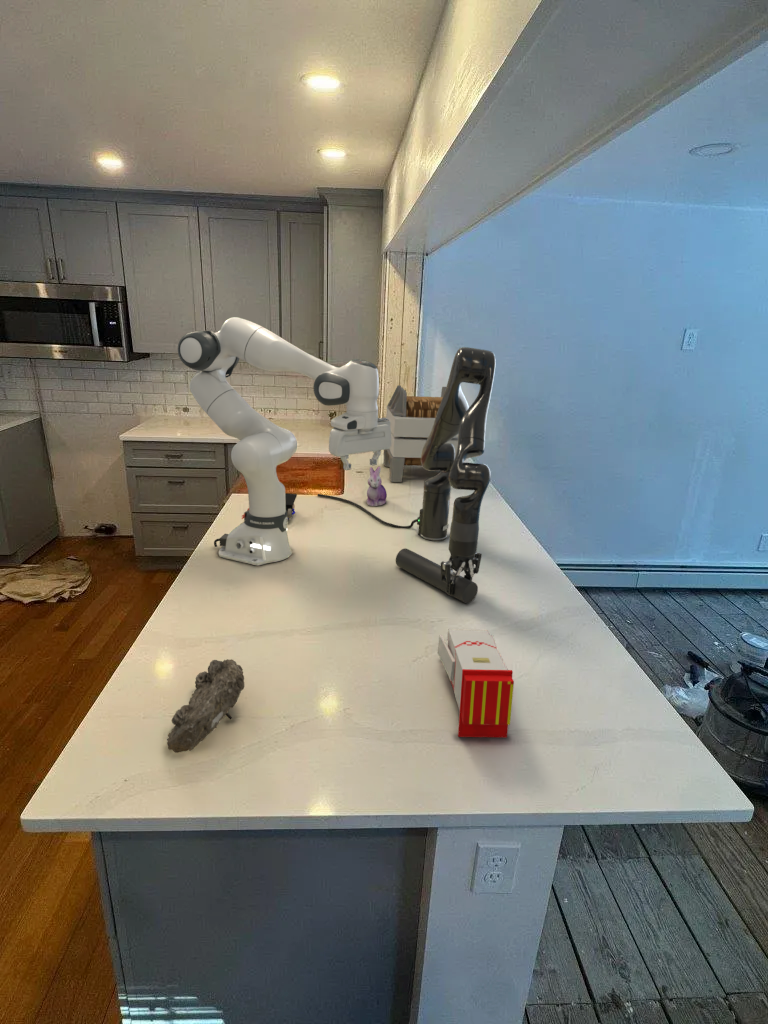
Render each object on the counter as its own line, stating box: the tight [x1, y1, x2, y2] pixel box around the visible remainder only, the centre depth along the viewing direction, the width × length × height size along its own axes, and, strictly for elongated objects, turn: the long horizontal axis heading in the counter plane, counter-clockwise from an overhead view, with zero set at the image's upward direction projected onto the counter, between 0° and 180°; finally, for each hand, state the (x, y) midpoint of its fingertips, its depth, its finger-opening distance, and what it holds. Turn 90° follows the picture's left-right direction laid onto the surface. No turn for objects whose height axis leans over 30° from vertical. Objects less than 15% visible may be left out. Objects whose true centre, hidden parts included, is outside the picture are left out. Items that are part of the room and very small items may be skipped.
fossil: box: [166, 658, 245, 754], centre depth 106 cm, size 22×10×15 cm
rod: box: [395, 548, 479, 604], centre depth 164 cm, size 28×6×6 cm, turn 40°
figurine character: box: [285, 492, 298, 523], centre depth 209 cm, size 7×8×15 cm
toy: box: [437, 628, 515, 738], centre depth 117 cm, size 12×13×30 cm
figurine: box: [366, 466, 388, 507], centre depth 227 cm, size 9×10×15 cm
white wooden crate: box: [383, 384, 458, 483], centre depth 268 cm, size 34×33×41 cm
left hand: (360, 467), depth 164 cm, fingers open, 8 cm apart
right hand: (458, 591), depth 157 cm, fingers closed on rod, 6 cm apart
